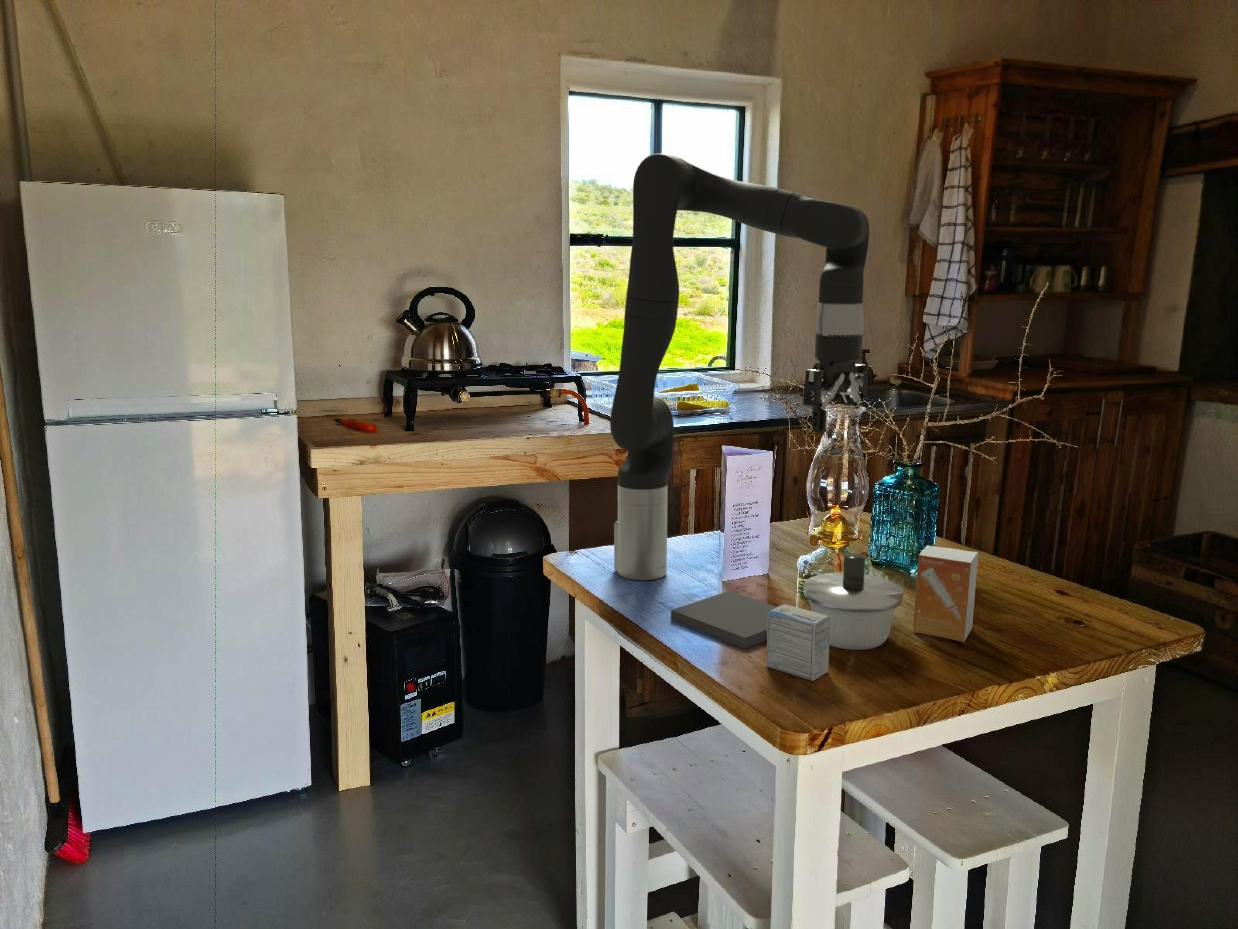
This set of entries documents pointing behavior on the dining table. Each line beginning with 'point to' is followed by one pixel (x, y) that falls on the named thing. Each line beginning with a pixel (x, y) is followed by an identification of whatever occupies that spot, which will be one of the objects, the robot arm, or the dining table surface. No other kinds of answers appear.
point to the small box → (945, 592)
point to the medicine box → (798, 641)
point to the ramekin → (856, 627)
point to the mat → (727, 618)
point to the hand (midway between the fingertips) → (834, 429)
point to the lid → (853, 589)
